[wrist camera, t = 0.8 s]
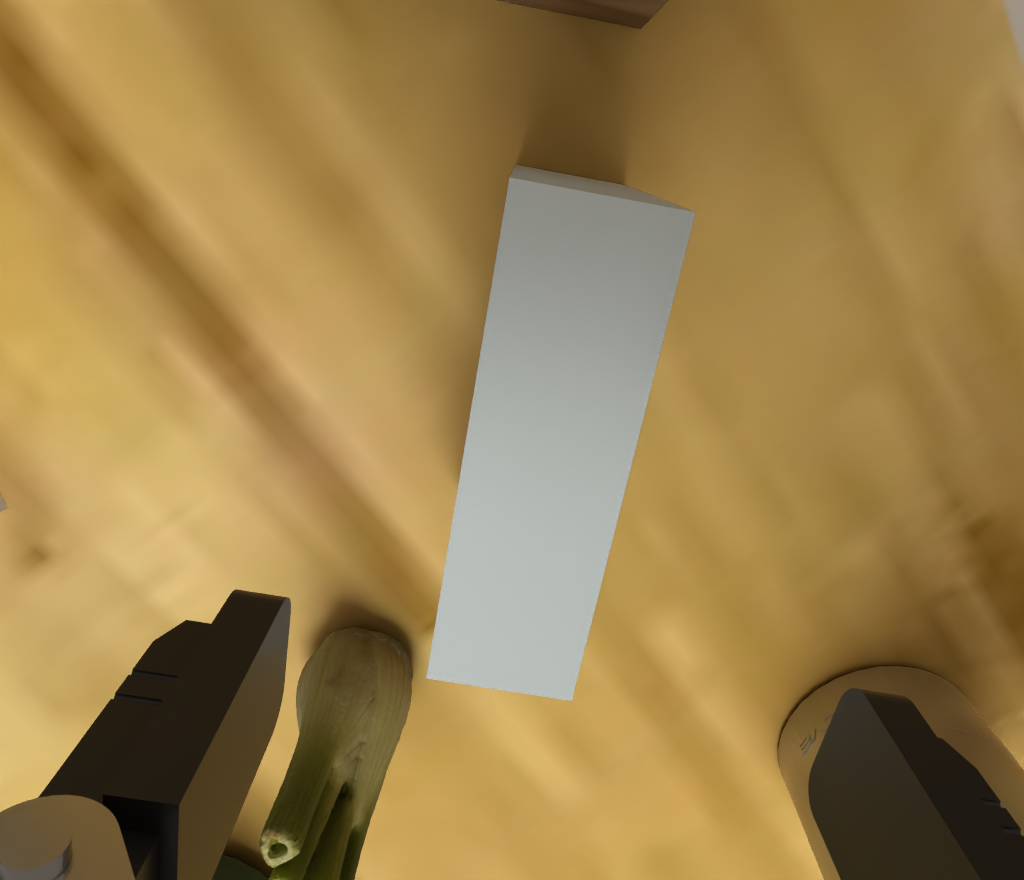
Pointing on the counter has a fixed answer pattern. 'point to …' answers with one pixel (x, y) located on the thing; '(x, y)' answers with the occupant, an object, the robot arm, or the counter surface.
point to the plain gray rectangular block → (553, 425)
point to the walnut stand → (602, 9)
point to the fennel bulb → (338, 755)
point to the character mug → (236, 870)
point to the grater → (2, 504)
